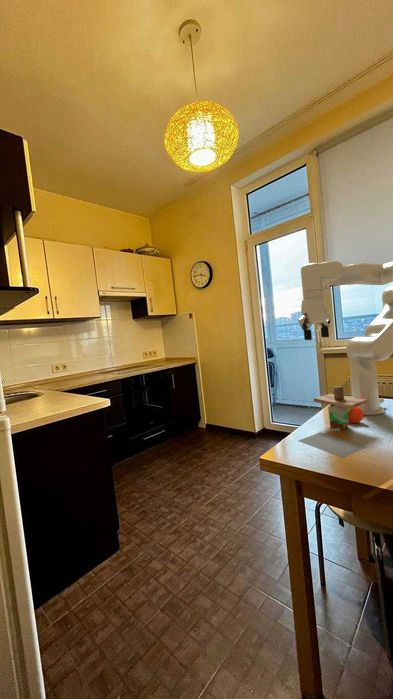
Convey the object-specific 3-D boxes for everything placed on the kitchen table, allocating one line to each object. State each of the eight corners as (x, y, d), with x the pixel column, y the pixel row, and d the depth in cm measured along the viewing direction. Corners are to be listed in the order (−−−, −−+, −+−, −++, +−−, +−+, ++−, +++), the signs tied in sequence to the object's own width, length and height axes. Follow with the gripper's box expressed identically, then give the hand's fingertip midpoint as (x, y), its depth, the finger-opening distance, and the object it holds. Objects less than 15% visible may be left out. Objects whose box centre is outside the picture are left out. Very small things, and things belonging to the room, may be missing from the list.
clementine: (359, 427, 105) (357, 408, 105) (339, 424, 110) (337, 406, 110) (367, 421, 110) (365, 403, 110) (347, 418, 116) (346, 401, 115)
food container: (349, 436, 99) (347, 407, 99) (330, 434, 102) (327, 406, 102) (352, 424, 110) (350, 398, 109) (334, 422, 113) (332, 397, 112)
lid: (329, 396, 114) (328, 382, 114) (367, 403, 101) (365, 387, 101) (314, 401, 110) (312, 386, 110) (351, 408, 97) (349, 392, 96)
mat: (320, 434, 103) (320, 432, 103) (366, 449, 88) (366, 446, 88) (297, 442, 98) (297, 440, 98) (343, 460, 83) (342, 457, 83)
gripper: (320, 296, 122) (323, 336, 123) (289, 298, 114) (293, 341, 115) (336, 293, 115) (339, 335, 116) (304, 295, 107) (308, 340, 108)
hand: (316, 338), depth 116 cm, fingers open, 9 cm apart
